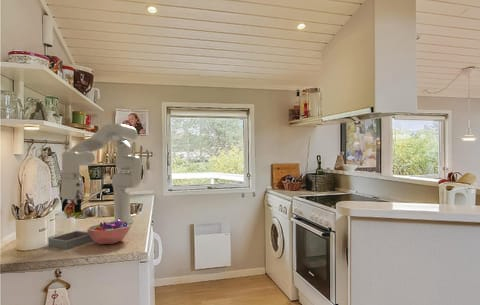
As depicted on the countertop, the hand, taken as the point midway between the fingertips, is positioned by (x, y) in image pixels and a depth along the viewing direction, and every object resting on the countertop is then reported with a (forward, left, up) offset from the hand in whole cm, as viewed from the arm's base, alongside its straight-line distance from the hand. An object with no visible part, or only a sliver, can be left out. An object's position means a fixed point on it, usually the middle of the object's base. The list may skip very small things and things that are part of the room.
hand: (71, 211), depth 147 cm
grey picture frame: (0, 0, -16) cm, 16 cm away
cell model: (-8, +18, -16) cm, 25 cm away
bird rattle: (-1, 0, -4) cm, 4 cm away
